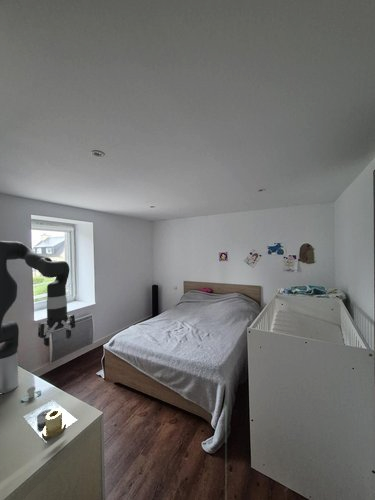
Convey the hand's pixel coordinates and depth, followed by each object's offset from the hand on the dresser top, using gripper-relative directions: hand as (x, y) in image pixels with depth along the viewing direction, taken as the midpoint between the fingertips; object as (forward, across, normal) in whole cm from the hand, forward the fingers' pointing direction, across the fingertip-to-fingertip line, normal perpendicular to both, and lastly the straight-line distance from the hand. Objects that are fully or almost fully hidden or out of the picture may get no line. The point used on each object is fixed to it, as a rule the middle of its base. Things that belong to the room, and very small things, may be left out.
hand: (58, 341), depth 90 cm
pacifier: (+28, +5, -16) cm, 33 cm away
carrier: (+28, +6, +6) cm, 29 cm away
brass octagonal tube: (+27, +8, +14) cm, 31 cm away
